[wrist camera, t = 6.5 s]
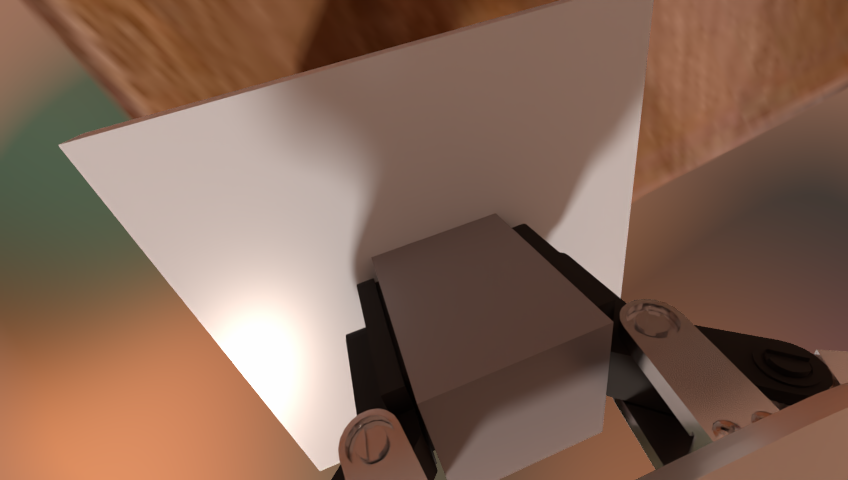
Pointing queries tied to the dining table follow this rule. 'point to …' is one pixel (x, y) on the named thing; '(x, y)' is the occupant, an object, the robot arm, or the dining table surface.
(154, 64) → the dining table surface
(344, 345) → the lid
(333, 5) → the dining table surface
